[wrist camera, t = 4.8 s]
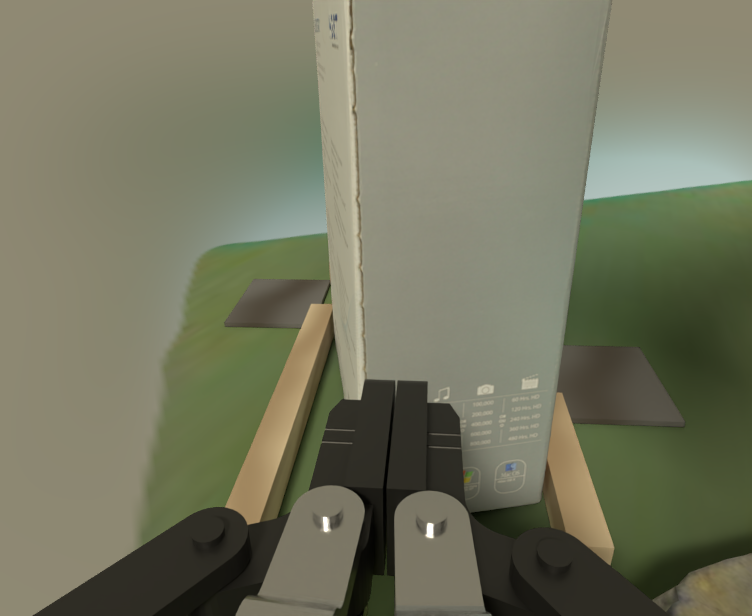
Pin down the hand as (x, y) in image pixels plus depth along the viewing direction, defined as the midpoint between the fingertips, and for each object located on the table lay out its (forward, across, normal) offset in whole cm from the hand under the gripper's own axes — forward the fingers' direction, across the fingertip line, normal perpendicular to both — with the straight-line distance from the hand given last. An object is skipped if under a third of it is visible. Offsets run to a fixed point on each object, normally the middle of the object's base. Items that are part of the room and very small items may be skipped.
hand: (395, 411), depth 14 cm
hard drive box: (+13, 0, +10) cm, 17 cm away
